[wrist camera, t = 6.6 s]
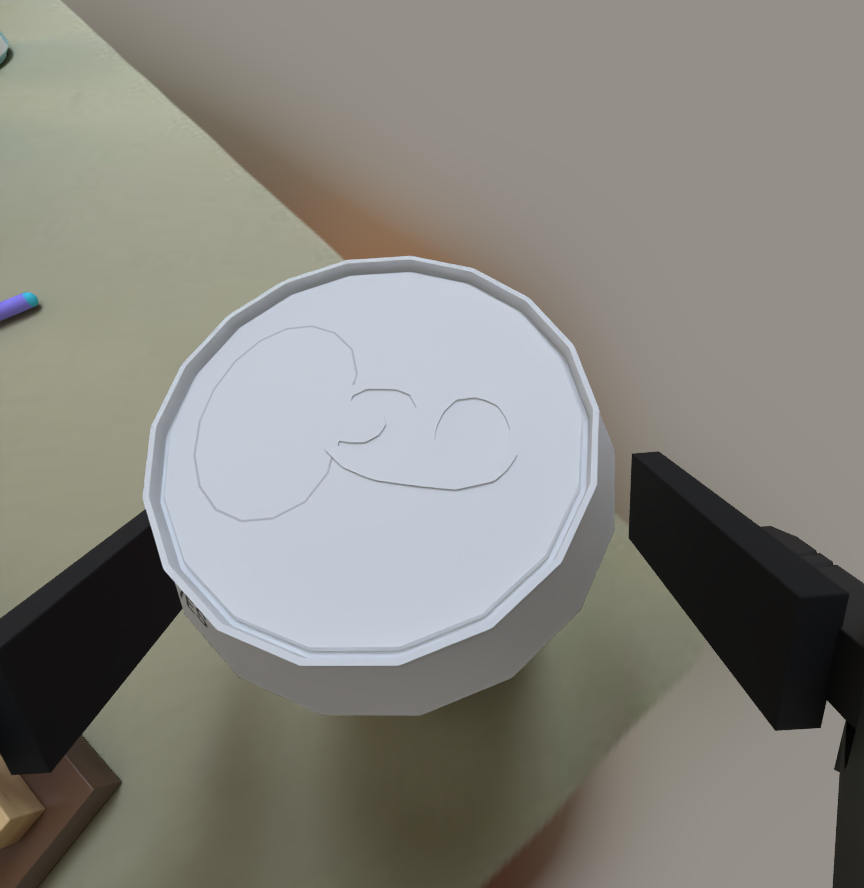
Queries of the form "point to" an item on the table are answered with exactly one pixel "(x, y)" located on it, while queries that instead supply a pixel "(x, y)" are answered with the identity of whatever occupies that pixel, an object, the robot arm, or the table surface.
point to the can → (3, 47)
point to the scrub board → (48, 813)
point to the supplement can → (381, 486)
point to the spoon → (17, 305)
